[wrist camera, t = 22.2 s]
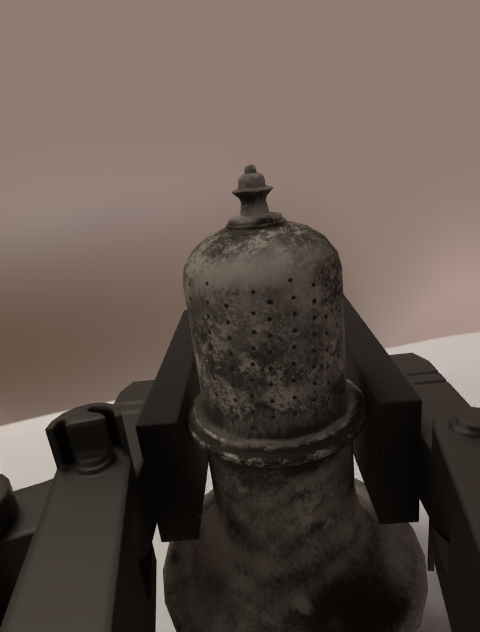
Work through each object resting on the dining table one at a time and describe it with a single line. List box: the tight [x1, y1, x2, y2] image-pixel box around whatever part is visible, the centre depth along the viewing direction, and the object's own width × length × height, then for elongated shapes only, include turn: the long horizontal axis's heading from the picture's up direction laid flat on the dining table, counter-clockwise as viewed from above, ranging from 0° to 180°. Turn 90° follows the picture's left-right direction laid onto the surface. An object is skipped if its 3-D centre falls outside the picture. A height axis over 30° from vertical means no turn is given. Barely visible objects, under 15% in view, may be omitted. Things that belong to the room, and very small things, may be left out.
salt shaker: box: [163, 165, 428, 632], centre depth 9 cm, size 6×6×12 cm
